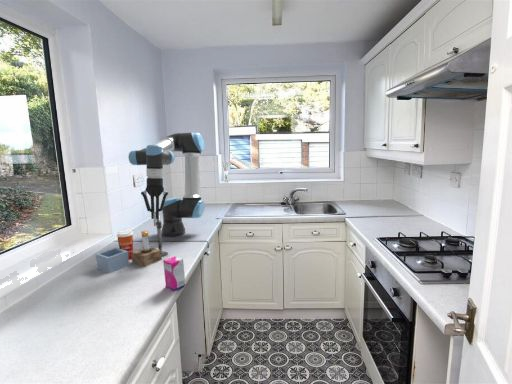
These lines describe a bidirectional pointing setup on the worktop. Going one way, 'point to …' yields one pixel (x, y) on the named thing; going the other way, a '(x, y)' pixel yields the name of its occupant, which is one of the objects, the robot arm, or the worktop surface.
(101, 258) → the blue open box
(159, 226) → the grey tall angled piece
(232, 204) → the worktop surface
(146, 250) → the pin
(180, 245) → the worktop surface
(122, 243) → the paper cup
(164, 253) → the base
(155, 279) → the worktop surface
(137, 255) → the socket block
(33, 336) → the worktop surface
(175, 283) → the supplement box
